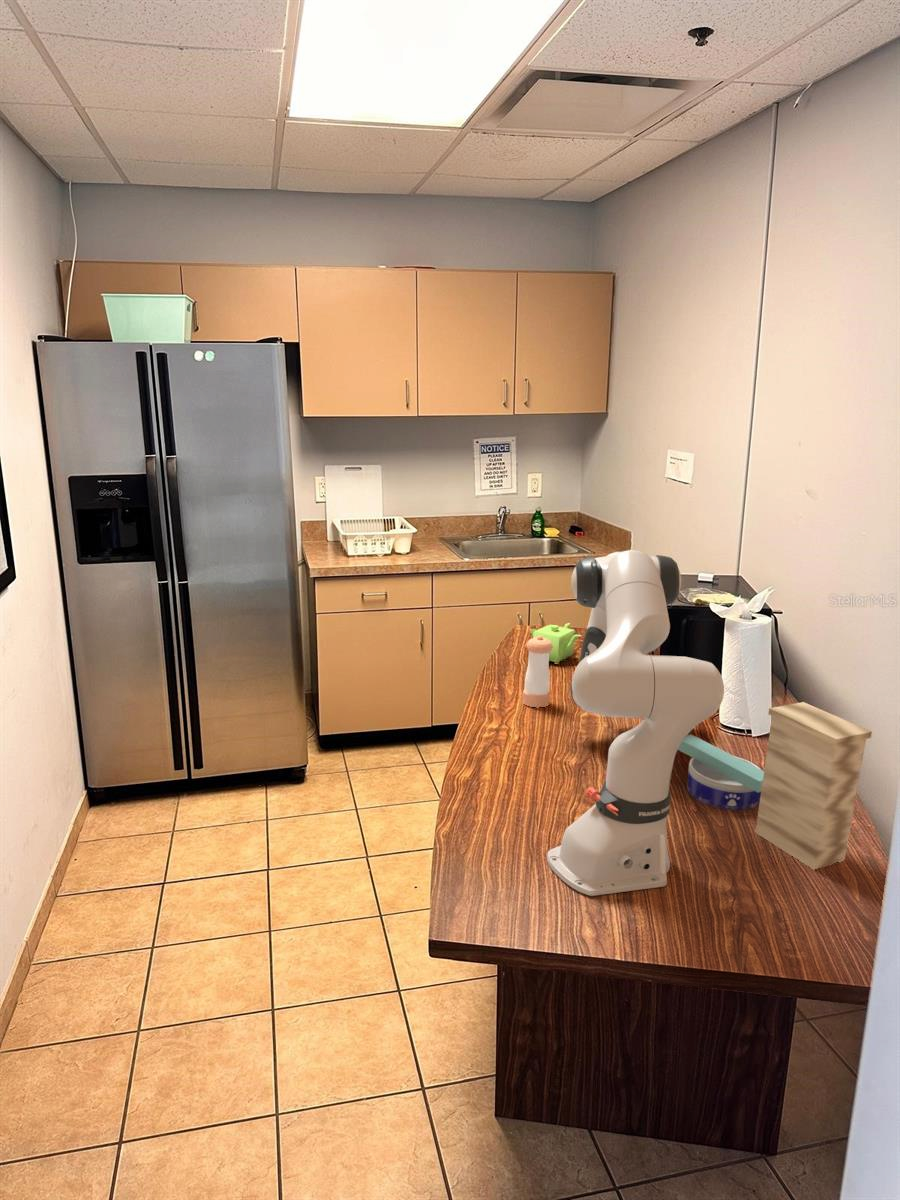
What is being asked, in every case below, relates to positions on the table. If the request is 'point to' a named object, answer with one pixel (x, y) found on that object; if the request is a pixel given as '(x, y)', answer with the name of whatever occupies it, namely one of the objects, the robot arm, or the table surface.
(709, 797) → the dog bowl
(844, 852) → the beige block
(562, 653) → the kettle
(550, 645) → the salt shaker
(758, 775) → the slat
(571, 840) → the robot arm
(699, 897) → the table surface
